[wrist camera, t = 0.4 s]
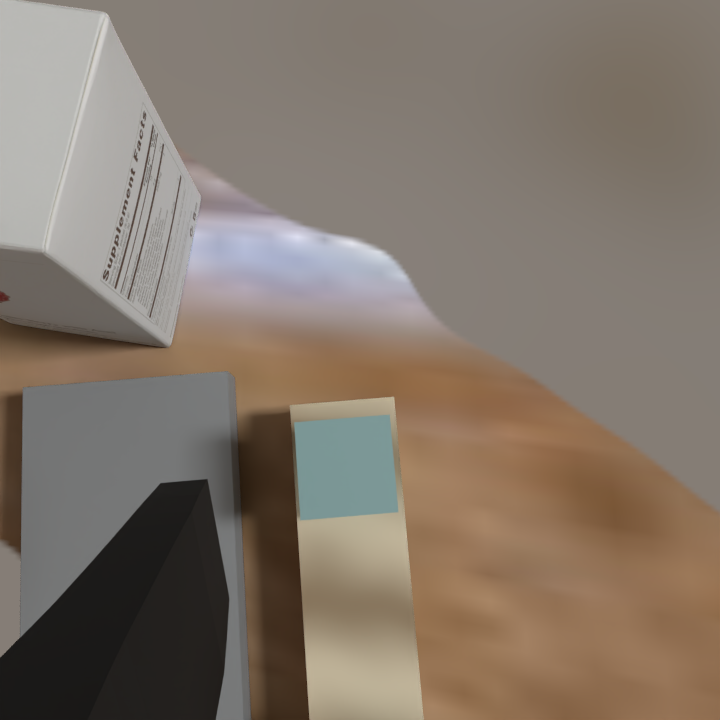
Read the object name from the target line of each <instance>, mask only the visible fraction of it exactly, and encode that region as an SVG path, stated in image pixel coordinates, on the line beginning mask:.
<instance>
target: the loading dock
mask: <svg viewBox="0 0 720 720" xmlns="http://www.w3.org/2000/svg"><path fill="white" fill-rule="evenodd" d="M201 479H208V484H209V489H210V495H211V500H212V506H213V511H214V517H215V522H216V527H217V533H218V538H219V544H220V549H221V555H222V560H223V565H224V571H225V576H226V582H227V587H228V593H229V614H228V630H227V644H226V657H225V670H224V677H223V683H222V688H221V694H220V699H219V705H218V710H217V716H216V720H251V707H250V686H249V665H248V644H247V623H246V602H245V581H244V560H243V539H242V518H241V497H240V476H239V455H238V434H237V413H236V392H235V378H234V377H233V376H232V375H231V374H230V373H229V372H228V371H225V372H212V373H200V374H187V375H175V376H162V377H150V378H137V379H125V380H112V381H99V382H87V383H74V384H62V385H49V386H37V387H24V388H23V421H22V508H21V596H20V602H21V603H20V637H21V636H22V635H23V634H24V633H25V632H26V631H27V630H28V629H29V628H30V627H31V626H32V625H33V624H34V623H35V622H36V621H37V620H38V619H39V618H40V617H41V616H42V615H43V614H44V613H45V612H46V611H47V610H48V609H49V608H50V607H51V606H52V605H53V604H54V603H55V602H56V600H57V599H58V598H59V597H60V596H61V595H62V594H63V593H64V592H65V591H66V589H67V588H68V587H69V586H70V585H71V584H72V583H73V582H74V581H75V579H76V578H77V577H78V576H79V575H80V574H81V573H82V572H83V571H84V570H85V568H86V567H87V566H88V565H89V564H90V563H91V562H92V561H93V560H94V558H95V557H96V556H97V555H98V554H99V553H100V552H101V551H102V549H103V548H104V547H105V546H106V545H107V544H108V542H109V541H110V540H111V539H112V538H113V537H114V536H115V534H116V533H117V532H118V531H119V530H120V529H121V527H122V526H123V525H124V524H125V523H126V522H127V520H128V519H129V518H130V517H131V516H132V515H133V513H134V512H135V511H136V510H137V509H138V508H139V507H140V505H141V504H142V503H143V502H144V501H145V500H146V499H147V498H148V496H149V495H150V494H151V493H152V492H153V491H154V490H155V489H156V488H157V486H158V485H159V484H160V483H167V482H178V481H190V480H201Z"/></svg>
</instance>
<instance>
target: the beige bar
mask: <svg viewBox="0 0 720 720" xmlns="http://www.w3.org/2000/svg"><path fill="white" fill-rule="evenodd" d="M290 415H291V431H292V447H293V463H294V479H295V495H296V511H297V527H298V543H299V559H300V575H301V591H302V607H303V623H304V639H305V655H306V671H307V687H308V704H309V720H424V719H423V708H422V697H421V686H420V675H419V664H418V653H417V642H416V631H415V621H414V610H413V599H412V588H411V577H410V566H409V555H408V544H407V533H406V522H405V511H404V501H403V490H402V479H401V468H400V457H399V446H398V435H397V424H396V413H395V402H394V397H386V398H374V399H361V400H349V401H337V402H324V403H312V404H299V405H290ZM378 415H390V423H391V435H392V446H393V457H394V468H395V479H396V490H397V501H398V512H395V513H383V514H371V515H359V516H347V517H335V518H323V519H312V520H300V506H299V490H298V475H297V459H296V443H295V427H294V422H304V421H316V420H329V419H341V418H353V417H365V416H378Z"/></svg>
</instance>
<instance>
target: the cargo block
mask: <svg viewBox="0 0 720 720" xmlns="http://www.w3.org/2000/svg"><path fill="white" fill-rule="evenodd" d="M294 427H295V443H296V459H297V475H298V490H299V506H300V520H312V519H323V518H335V517H347V516H359V515H371V514H383V513H395V512H398V501H397V490H396V479H395V468H394V457H393V446H392V435H391V423H390V415H378V416H365V417H353V418H341V419H329V420H316V421H304V422H294Z"/></svg>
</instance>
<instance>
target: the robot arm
mask: <svg viewBox="0 0 720 720" xmlns="http://www.w3.org/2000/svg"><path fill="white" fill-rule="evenodd" d="M228 614H229V593H228V587H227V582H226V576H225V571H224V565H223V560H222V555H221V549H220V544H219V538H218V533H217V527H216V522H215V517H214V511H213V506H212V500H211V495H210V489H209V484H208V479H201V480H190V481H178V482H167V483H160V484H159V485H158V486H157V488H156V489H155V490H154V491H153V492H152V493H151V494H150V495H149V496H148V498H147V499H146V500H145V501H144V502H143V503H142V504H141V505H140V507H139V508H138V509H137V510H136V511H135V512H134V513H133V515H132V516H131V517H130V518H129V519H128V520H127V522H126V523H125V524H124V525H123V526H122V527H121V529H120V530H119V531H118V532H117V533H116V534H115V536H114V537H113V538H112V539H111V540H110V541H109V542H108V544H107V545H106V546H105V547H104V548H103V549H102V551H101V552H100V553H99V554H98V555H97V556H96V557H95V558H94V560H93V561H92V562H91V563H90V564H89V565H88V566H87V567H86V568H85V570H84V571H83V572H82V573H81V574H80V575H79V576H78V577H77V578H76V579H75V581H74V582H73V583H72V584H71V585H70V586H69V587H68V588H67V589H66V591H65V592H64V593H63V594H62V595H61V596H60V597H59V598H58V599H57V600H56V602H55V603H54V604H53V605H52V606H51V607H50V608H49V609H48V610H47V611H46V612H45V613H44V614H43V615H42V616H41V617H40V618H39V619H38V620H37V621H36V622H35V623H34V624H33V625H32V626H31V627H30V628H29V629H28V630H27V631H26V632H25V633H24V634H23V635H22V636H21V637H20V638H19V639H18V640H17V641H16V642H15V643H14V644H13V646H11V648H10V649H9V650H8V651H7V652H6V653H5V654H4V655H3V656H2V657H1V658H0V720H216V716H217V710H218V705H219V699H220V694H221V688H222V683H223V677H224V670H225V657H226V644H227V630H228Z"/></svg>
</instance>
